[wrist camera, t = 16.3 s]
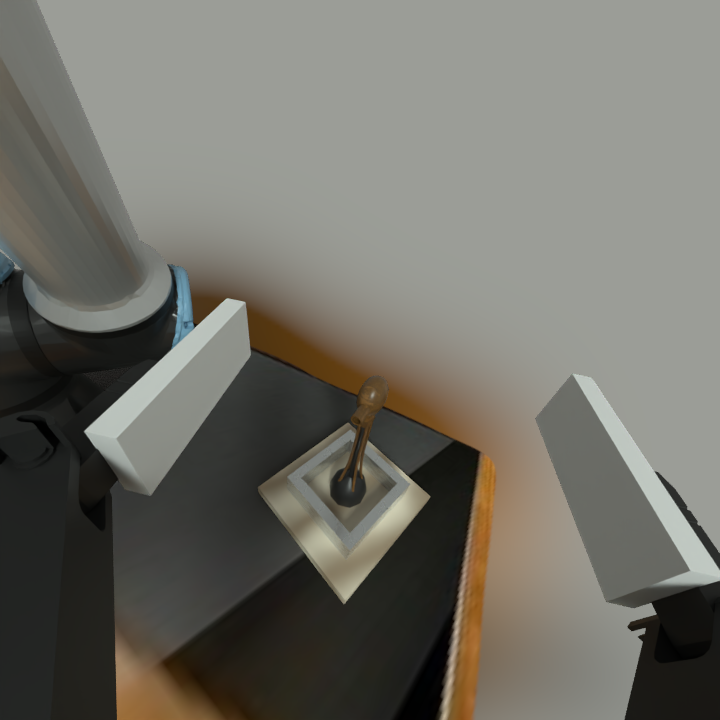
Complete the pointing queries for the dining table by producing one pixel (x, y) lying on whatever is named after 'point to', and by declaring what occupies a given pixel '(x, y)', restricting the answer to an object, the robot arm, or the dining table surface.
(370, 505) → the stand
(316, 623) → the dining table surface
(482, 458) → the dining table surface
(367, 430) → the wooden tabletop sculpture
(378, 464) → the collar
